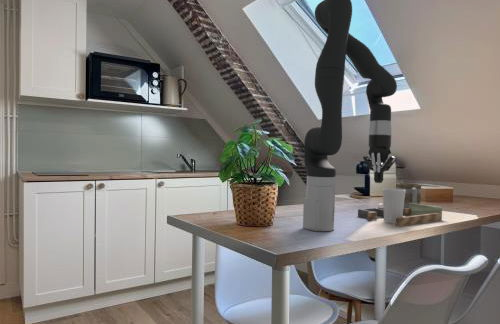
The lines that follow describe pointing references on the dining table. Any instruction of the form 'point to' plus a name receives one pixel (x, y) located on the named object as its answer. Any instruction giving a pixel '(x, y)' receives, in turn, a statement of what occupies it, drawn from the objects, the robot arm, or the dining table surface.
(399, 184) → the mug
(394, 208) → the cup
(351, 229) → the dining table surface
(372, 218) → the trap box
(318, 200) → the robot arm
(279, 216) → the dining table surface
